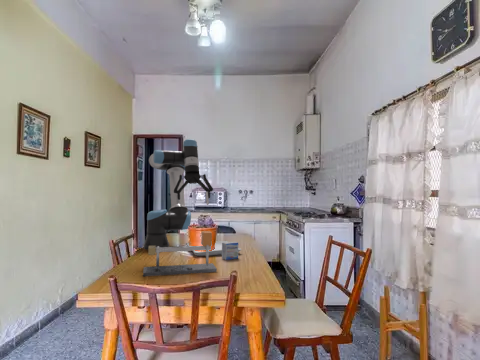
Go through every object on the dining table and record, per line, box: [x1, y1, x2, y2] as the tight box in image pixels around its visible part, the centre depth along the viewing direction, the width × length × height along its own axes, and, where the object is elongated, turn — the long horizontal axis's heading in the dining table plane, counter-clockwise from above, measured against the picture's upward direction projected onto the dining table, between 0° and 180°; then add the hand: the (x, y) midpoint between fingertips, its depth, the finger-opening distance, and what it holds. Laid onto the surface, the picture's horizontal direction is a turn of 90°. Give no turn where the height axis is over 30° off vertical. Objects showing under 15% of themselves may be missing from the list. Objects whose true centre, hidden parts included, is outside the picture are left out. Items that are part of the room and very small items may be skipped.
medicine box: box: [221, 241, 239, 261], centre depth 170 cm, size 8×4×9 cm, turn 123°
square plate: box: [185, 240, 242, 257], centre depth 188 cm, size 27×27×4 cm
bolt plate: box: [142, 262, 218, 277], centre depth 145 cm, size 10×32×2 cm, turn 105°
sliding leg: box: [200, 230, 213, 266], centre depth 148 cm, size 6×4×15 cm
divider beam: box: [147, 245, 211, 269], centre depth 144 cm, size 6×28×10 cm, turn 105°
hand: (194, 205), depth 162 cm, fingers open, 13 cm apart
